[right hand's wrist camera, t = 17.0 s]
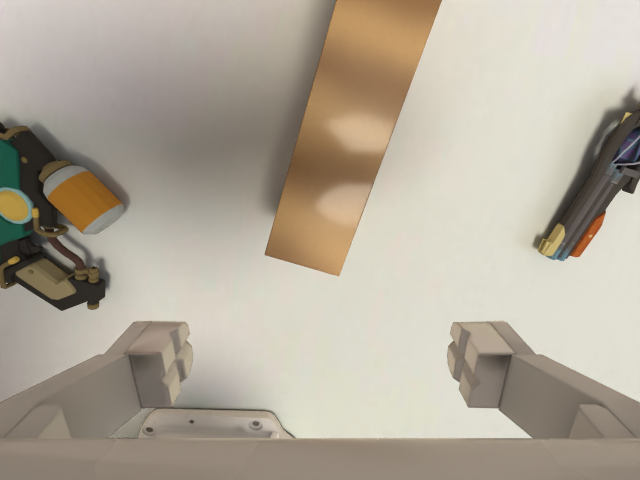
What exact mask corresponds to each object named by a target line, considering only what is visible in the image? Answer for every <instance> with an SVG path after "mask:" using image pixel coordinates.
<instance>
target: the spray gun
mask: <svg viewBox="0 0 640 480" xmlns="http://www.w3.org/2000/svg"><path fill="white" fill-rule="evenodd" d="M14 135H16V136H17V137H16V138H14ZM57 209H58V210H59V211H60V212H61V213H62V214H63V215H64V216H65V217H66V218H67V219H68V220H69V221H70V222H71V223H72V224H73V225H74V226H75V227H76V228H77V229H78V230H79V231H80V232H81V233H83V234H97V233H99V232H101V231H102V230H104V229H105V228H107V227H108V226H110V225H111V224H112V223H114V222H115V221H116V220H117V219H118V218H119V217H120V216H121V215H122V214H123V213H124V205H123V204H122V203H121V202H120V201H119V200H118V199H117V198H116V197H115V196H114V195H113V194H112V193H111V192H110V191H109V190H108V189H107V188H106V187H105V186H104V185H103V184H102V183H101V182H100V181H99V180H98V179H97V178H96V177H95V176H94V175H93V174H92V173H91V172H90V171H88V170H87V169H85V168H83V167H82V166H74V165H72V164H71V163H70V162H69V161H68V160H62V161H56V160H55V158H54V156H53V155H52V154H51V153H50V152H49V151H48V149H47V148H46V147H45V146H44V145H43V144H42V143H41V142H40V141H39V140H38V138H37V137H36V136H35V135H34V134H33V133H32V132H31V131H30V129H29V128H28V127H27V126H18V127H14V128H11V129H9V128H5V127H4V126H3V124H2V123H0V286H1V288H4V289H7V288H9V287H11V286H13V285H15V284H17V283H18V284H20V285H21V286H23V287H25V288H26V289H28V290H29V291H31V292H32V293H34V294H36V295H37V296H39V297H40V298H42V299H43V300H45V301H47V302H48V303H50V304H51V305H53V306H55V307H56V308H58V309H59V310H61V311H63V310H66V309H68V308H71V307H73V306H76V305H79V304H81V303H84V302H87V301H88V302H87V307H88V309H90V310H94V309H97V308H98V307H99V301H100V300H101V299H102V298H103V297H105V280H104V279H100V278H98V276H99V270H98V267H95V266H93V267H90V268H89V269H87V267H86V266H85V265H84V262H83V260H82V259H81V258H80V257H79V256H77V255H76V254H74V253H73V252H71V251H70V250H68V249H67V248H66V247H65V246H63V245H62V244H61V242H60V241H59V240H58V239H57V238H56V237H57V236H59V235H62V234H64V233H66V232H67V231H68V230H69V228H68V227H67V226H66V225H62V224H57ZM40 226H43V228H44V229H45V231H44V230H41V228H40ZM54 228H57V229H60V230H58V231H55V232H54ZM32 229H34V230H35V232H36V233H38V234H39V235H42V236H45V237H47V238H48V240H49V242H50V243H51V244H52V246H53V247H54V248H55V249H56V250H58V251H59V252H60V253H61V254H62V255H64V256H65V257H67V258H69V259H70V260H72V261H73V262H74V263H75V264H76V267H75V273H73V274H71V275H67V274H66V273H65V272H63V271H62V270H61V269H60V268H58V267H57V266H56V265H54V264H53V263H52V262H50V261H49V260H47V259H44V258H43V257H45V253H42V252H41V253H39V254H37V255H35V256H33V254H35V253H37V252H39V251H40V250H41V249H42V248H43V247H42V246H41V245H40V246H37V245H35V244H33V242H32V241H31V240H30V238H29V237H27V238H25V236H28V235H30V234H31V230H32ZM87 274H88V275H87ZM6 283H8V284H6Z"/></svg>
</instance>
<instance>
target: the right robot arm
mask: <svg viewBox="0 0 640 480" xmlns="http://www.w3.org/2000/svg"><path fill="white" fill-rule="evenodd" d="M189 334H190V332H189V327H188V324H187V323H186V322H170V321H136V322H133V323H132V324H131V325H130V326H129V327H128V329H127V330H126V331H125V332H124V333H123V334H122V335H121V336H120V337H119V338H118V340H117V341H116V342H115V343H114V344H113V345H112V346H111V347H110V348H109V349H108V351H107V352H106V353H105V354H104V355H97V356H94V357H92V358H90V359H88V360H86V361H84V362H82V363H80V364H78V365H76V366H74V367H72V368H70V369H68V370H66V371H64V372H62V373H60V374H58V375H56V376H53V377H51V378H49V379H47V380H45V381H43V382H41V383H39V384H37V385H35V386H33V387H31V388H29V389H27V390H25V391H23V392H21V393H19V394H17V395H15V396H13V397H10V398H8V399H6V400H4V401H2V402H0V480H640V403H639V402H637V401H635V400H633V399H631V398H629V397H627V396H625V395H623V394H621V393H619V392H617V391H615V390H613V389H611V388H609V387H607V386H605V385H603V384H601V383H599V382H597V381H595V380H593V379H590V378H588V377H586V376H584V375H582V374H580V373H578V372H576V371H574V370H572V369H570V368H568V367H566V366H564V365H562V364H560V363H558V362H556V361H554V360H552V359H550V358H548V357H546V356H543V355H536V354H535V353H534V352H533V351H532V349H531V348H530V347H529V346H528V345H527V344H526V343H525V342H524V341H523V340H522V338H521V337H520V336H519V335H518V334H517V333H516V332H515V331H514V330H513V329H512V327H511V326H510V325H509V324H508V323H507V322H504V321H487V322H453V324H452V327H451V332H450V334H451V336H452V338H453V340H454V341H453V342H452V343H451V344H450V345H449V346H448V352H447V359H448V366H449V370H450V373H451V375H452V377H453V378H454V379H455V380H457V381H458V382H460V386H459V391H460V392H461V394H462V396H463V398H464V400H465V402H466V404H467V406H468V407H469V408H499V410H500V411H501V412H502V413H503V414H504V415H506V416H507V417H508V418H509V419H510V420H512V421H513V422H514V423H515V424H517V425H518V426H519V427H520V428H521V429H523V430H524V431H525V432H526V433H527V434H529V435H530V436H531V437H532V438H293V437H292V436H291V435H289V434H288V433H287V432H286V431H284V430H283V428H282V427H281V425H280V423H279V421H278V419H277V418H276V416H275V415H274V414H272V413H271V412H267V411H238V410H200V409H156V410H154V411H153V412H152V413H151V414H150V415H149V416H148V417H147V418H146V419H145V421H144V423H143V425H142V427H141V429H140V432H139V435H138V438H108V437H109V436H110V435H112V434H113V433H114V432H115V431H116V430H118V429H119V428H120V427H121V426H122V425H124V424H125V423H126V422H127V421H128V420H130V419H131V418H132V417H133V416H134V415H136V414H137V413H138V412H139V411H141V408H170V407H172V406H173V404H174V402H175V400H176V398H177V396H178V394H179V392H180V391H181V386H180V382H182V381H183V380H185V379H186V378H187V377H188V375H189V372H190V370H191V366H192V361H193V351H192V346H191V345H190V344H189V343H188V342H187V341H186V340H187V338H188V336H189Z"/></svg>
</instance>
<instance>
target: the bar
mask: <svg viewBox="0 0 640 480" xmlns="http://www.w3.org/2000/svg"><path fill="white" fill-rule="evenodd" d="M441 1H442V0H336V3H335V7H334V10H333V14H332V17H331V21H330V24H329V28H328V32H327V35H326V39H325V42H324V46H323V49H322V53H321V56H320V60H319V63H318V67H317V70H316V74H315V78H314V81H313V85H312V88H311V92H310V95H309V99H308V102H307V106H306V109H305V113H304V117H303V120H302V124H301V127H300V131H299V134H298V138H297V141H296V145H295V148H294V152H293V155H292V159H291V163H290V166H289V170H288V173H287V177H286V180H285V184H284V187H283V191H282V194H281V198H280V202H279V205H278V209H277V212H276V216H275V219H274V223H273V226H272V230H271V233H270V237H269V240H268V244H267V248H266V251H265V255H267V256H270V257H274V258H277V259H281V260H284V261H288V262H291V263H295V264H298V265H301V266H305V267H308V268H312V269H315V270H319V271H322V272H326V273H329V274H333V275H336V276H339V275H340V272H341V269H342V267H343V264H344V261H345V259H346V256H347V253H348V251H349V248H350V245H351V243H352V240H353V237H354V234H355V232H356V229H357V226H358V224H359V221H360V218H361V216H362V213H363V210H364V208H365V205H366V202H367V200H368V197H369V194H370V192H371V189H372V186H373V184H374V181H375V178H376V176H377V173H378V170H379V167H380V165H381V162H382V159H383V157H384V154H385V151H386V149H387V146H388V143H389V141H390V138H391V135H392V133H393V130H394V127H395V125H396V122H397V119H398V117H399V114H400V111H401V108H402V106H403V103H404V100H405V98H406V95H407V92H408V90H409V87H410V84H411V82H412V79H413V76H414V74H415V71H416V68H417V66H418V63H419V60H420V58H421V55H422V52H423V49H424V47H425V44H426V41H427V39H428V36H429V33H430V31H431V28H432V25H433V23H434V20H435V17H436V15H437V12H438V9H439V7H440V4H441Z"/></svg>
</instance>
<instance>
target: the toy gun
mask: <svg viewBox="0 0 640 480" xmlns="http://www.w3.org/2000/svg"><path fill="white" fill-rule="evenodd" d="M639 106H640V104H639ZM613 163H614V164H613ZM623 165H627V167H623ZM639 179H640V109H639V110H637V111H635V112H633V113H628V112H626V113H625V115H624V117H623V119H622V120H621V122H620V123H619V124H618V126H617V127H616V129H615V130H614V132H613V134H612V135H611V137H610V138H609V140H608V141H607V143H606V145H605V146H604V148H603V150H602V151H601V153H600V155H599V157H598V159H597V161H596V163H595V165H594V167H593V170H592V172H591V174H590V177H589V178H588V180H587V181H586V183H585V184H584V186H583V187H582V189H581V190H580V192H579V193H578V195H577V196H576V198H575V199H574V201H573V203H572V204H571V206H570V207H569V209H568V210H567V212H566V213H565V215H564V216H563V218H562V219H561V221H560V222H559V223H558V224H557V225H556V227H555V228H554V230H553V231H552V233H551V234H550V236H549V237H548V239H547V240H546V239H542V241H541V243H540V245H539V248H538V252H540V253H541V254H543V255H545V256H546V257H548V258H550V259H552V260H556V259H558V260H560V261H564V260H565V258H566V259H567V258H568V256H573V257H579V256H580V255H581V254H582V252H583V251H584V250H585V248H586V247H587V246H588V244H589V243H590V241H591V240H592V239H593V237H594V236H595V235H596V233H597V232H598V230H599V229H600V227H601V226H602V223H603V220H604V216H605V213H606V211H605V210H606V208H607V207H608V205H609V204H610V202H611V201H612V200H613V198H614V197H615V195H616V194H617V193H618V192H619V191H620V190H621V189H622V190H623V191H625V192H628V193H631V194H633V193H634V191H635V188H636V186H637V183H638V181H639Z"/></svg>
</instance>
